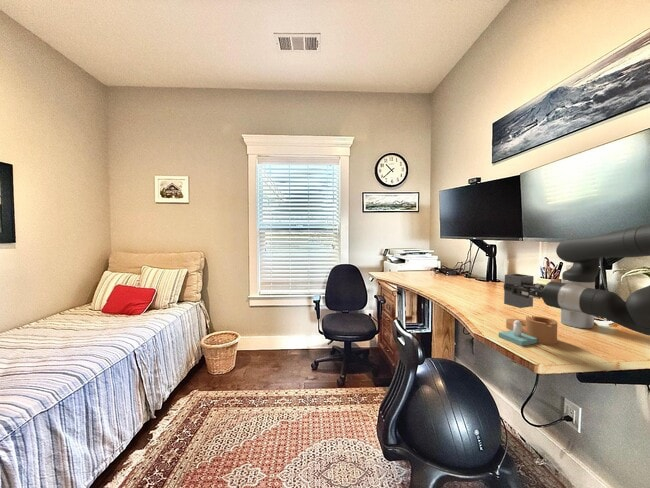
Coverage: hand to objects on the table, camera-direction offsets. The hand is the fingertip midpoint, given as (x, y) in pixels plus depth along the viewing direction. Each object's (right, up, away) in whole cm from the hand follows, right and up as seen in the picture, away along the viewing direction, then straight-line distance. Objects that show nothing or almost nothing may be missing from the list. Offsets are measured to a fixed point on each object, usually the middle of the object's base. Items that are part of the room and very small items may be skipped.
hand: (511, 285), depth 93 cm
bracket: (+9, -18, +4) cm, 20 cm away
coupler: (+1, -6, -2) cm, 7 cm away
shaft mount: (+1, -18, -1) cm, 18 cm away
